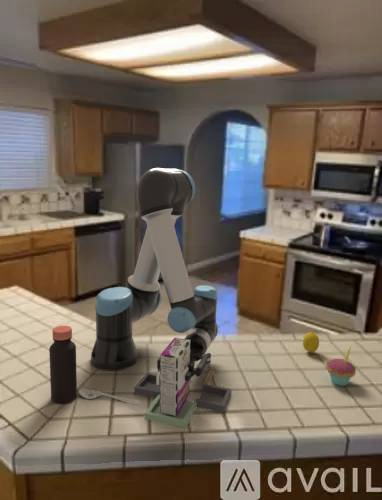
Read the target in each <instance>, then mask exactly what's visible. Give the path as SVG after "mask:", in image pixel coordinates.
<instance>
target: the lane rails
mask: <svg viewBox="0 0 382 500" xmlns="http://www.w3.org/2000/svg"><path fill="white" fill-rule="evenodd" d="M214 373H215V370H212V369H211V370H209V372H208V373H207V376H206V377H205V380H204V381H203V383H202V385H201V387H202V388H201V390H202V391H203V385H204V384H209V385H210V382H211V381H212V379H213V377H214Z"/></svg>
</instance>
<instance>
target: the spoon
mask: <svg viewBox="0 0 382 500" xmlns="http://www.w3.org/2000/svg"><path fill="white" fill-rule="evenodd" d="M78 394H79V395H80V396H81V397H83V398H84V399H87V400H92V399H96V398H98V397H100V396H104V397H109V398H112V399H115V400H118V401H121V402H123V403H126V404H130V405H138V404H140V402H139V401H138V400H136V399H132V398H131V399H130V398H126V397H121V396H117V395H112V394H109V393H106V392H102V391H99V390H93V389H86V388H82V389H79V390H78ZM89 395H93V396H89Z"/></svg>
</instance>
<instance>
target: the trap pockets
mask: <svg viewBox="0 0 382 500" xmlns="http://www.w3.org/2000/svg"><path fill="white" fill-rule="evenodd" d="M157 374H158V373H157ZM157 374H156V373H151V372H146V373H145V374H144V375H143V376H142V377H141V378H140V380H139V381H138V382H137V384H136V385H135V386H133V394H134V395H138V396H143V397H147V398H153V399H156V397H157V396H158V394H160V385H156V375H157ZM202 385H203V384H202ZM231 396H232V388H227V387H223V386H217V385H213V384H209V385H208V384H204V385H203V390H202V392H201V394H200V395H199V397H198V398H194V399H195V402H197V407H196V408H199V409H202V410H203V409H204V410H209V411H212V412H213V411H214V412H218V413H223V414H224V413H225V411H226V408H227V406H228V405H229V404H228V403H229V401H230V399H231Z"/></svg>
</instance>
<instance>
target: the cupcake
mask: <svg viewBox="0 0 382 500" xmlns="http://www.w3.org/2000/svg"><path fill="white" fill-rule="evenodd" d="M351 348H352V347H351V346H350V347H349V348H348V349H347V352H346V355H345V358H333V359H330V360H329V361H327V362H326V364H325V369H326V371H328V373H329V377H330V380H331V382H332V383H333V384H335V385H337V386H347V385H348V383H349V381H350V379H351V378H354V377H355V375H356V371H357V369H356V367H355V366H354V364H353V363H352V362H350V361H349V360H348V359H349V356H350V353H351Z"/></svg>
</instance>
